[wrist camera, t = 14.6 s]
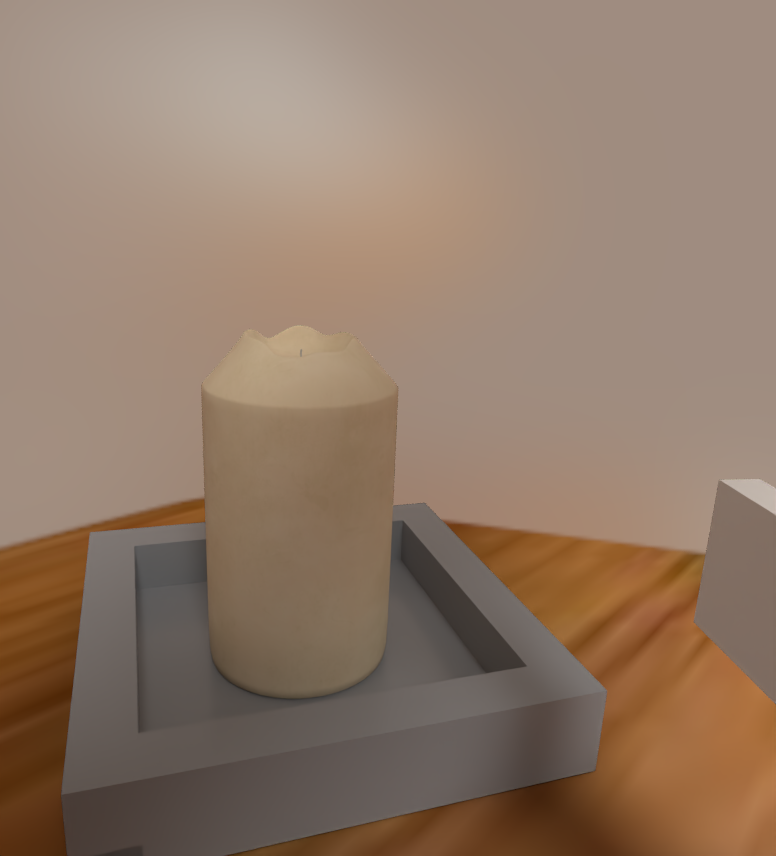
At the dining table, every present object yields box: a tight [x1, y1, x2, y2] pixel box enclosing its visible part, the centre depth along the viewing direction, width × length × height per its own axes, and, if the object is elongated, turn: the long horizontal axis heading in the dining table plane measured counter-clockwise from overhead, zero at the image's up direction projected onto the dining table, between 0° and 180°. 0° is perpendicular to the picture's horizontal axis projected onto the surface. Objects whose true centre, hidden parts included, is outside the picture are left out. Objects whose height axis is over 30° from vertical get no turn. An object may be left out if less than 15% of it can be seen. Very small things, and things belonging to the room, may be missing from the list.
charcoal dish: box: [61, 503, 607, 856], centre depth 23 cm, size 13×13×2 cm
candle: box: [201, 325, 398, 699], centre depth 22 cm, size 6×6×10 cm
